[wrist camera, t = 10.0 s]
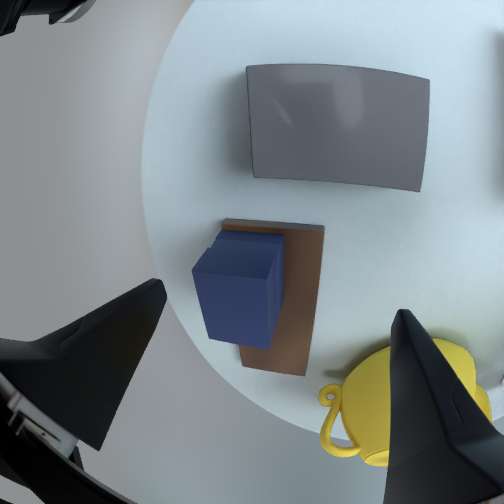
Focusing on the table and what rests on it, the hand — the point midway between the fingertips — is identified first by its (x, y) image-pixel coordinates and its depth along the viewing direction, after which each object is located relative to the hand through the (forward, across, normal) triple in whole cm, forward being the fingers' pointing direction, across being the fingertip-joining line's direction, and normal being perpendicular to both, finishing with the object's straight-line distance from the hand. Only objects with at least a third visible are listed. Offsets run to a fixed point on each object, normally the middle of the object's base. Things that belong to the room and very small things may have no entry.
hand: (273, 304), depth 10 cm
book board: (+12, +2, +13) cm, 18 cm away
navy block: (+8, +4, +7) cm, 11 cm away
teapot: (+12, -16, +22) cm, 30 cm away
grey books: (+12, -2, -5) cm, 13 cm away
